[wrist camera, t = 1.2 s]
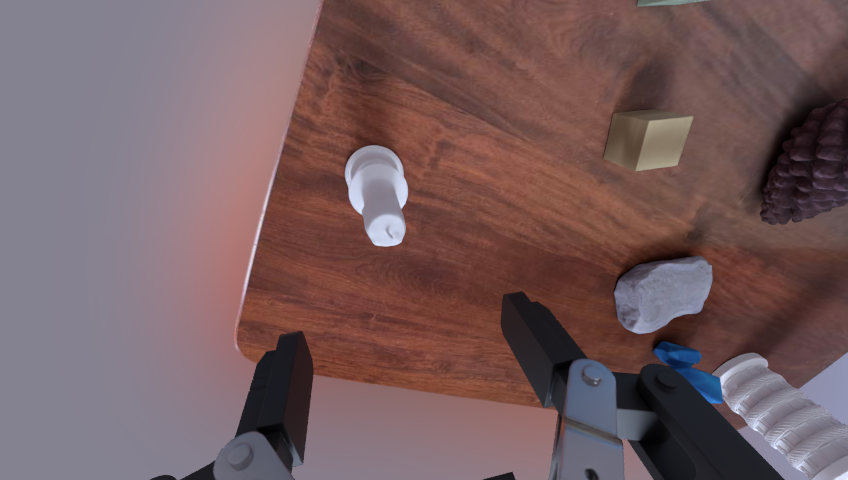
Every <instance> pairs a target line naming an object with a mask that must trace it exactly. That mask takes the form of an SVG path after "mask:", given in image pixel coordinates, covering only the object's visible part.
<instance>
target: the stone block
mask: <svg viewBox="0 0 848 480" xmlns="http://www.w3.org/2000/svg"><path fill="white" fill-rule="evenodd" d="M712 279H713V278H712V266H711V265H710V264H709V263H707V261H706V260H705V259H704V258H703V257H702V256H694V257H685V258H679V259H673V260H666V261H665V260H662V261H655V262H650V263H648V264H639V265H637V266H635V267H634V268H633V269H631V270H630V271H629V272H627V273H625V274H624V275H623V276H622V277H621V278H620V279H619V281H618V283H617V286H616V289H615V291H614V296H615V300H616V309H617V318H618V320H619V321H620V322H621V323H622V325H623V326H624V327H625V328H626V329H628V330H631V331H632V332H635V333H637V334H642V333H651V332H653V331H655V330H657V329H659V328H661V327H663V326H666V324H667V323H668V322H669V321H670V320H672V319H673V318H675V317H678V316H682V315H684V314H696V313H698V312H700V311H701V310H702V307H703V304H704V301H705V300H706V297H707V296H708V293H709V291H710V287H711V283H712Z"/></svg>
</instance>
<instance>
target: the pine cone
mask: <svg viewBox="0 0 848 480" xmlns="http://www.w3.org/2000/svg"><path fill="white" fill-rule="evenodd" d="M790 134H791V139H790V140H788V141H785V142H783V144H782V147H783V149H784V150H785V153H784V154H782V155H780V156H779V157H778V160H777V165H775V166H774V167H773V168H772V170H771V172H770V173H769V181H768V184H767V185H766V186H765V187H764V189H763V191H764V193H765V194H764V195H763V198H762V199H763V200H764V202H762V204H761V205H760V206H761V208H762V211H761V212H760V216H761V217H762V221H763V222H768V223H769V224H771V225H775V224H776V223H780V224H787V222H788V221H789V220H790V219H791V218H792V221H793V222H801V221H802V219H805V218H806V219H809V218H814V216H816V215H818V214H819V213H822V212H828V211H830V210H831V209H832V208H834V207H840V206H844V205H845V204H847V203H848V98H844V99H842V100H840V101H839V102H838V103H832V104H828V105H826V106H825V107H824V108H816V109H814V110H813V111H812V112H811V113H810V114H809V116H808V119H806V120H805V121H804V123H803V126H802V127H797V128H793V130H792V131H791V133H790Z"/></svg>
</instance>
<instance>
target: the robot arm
mask: <svg viewBox="0 0 848 480" xmlns="http://www.w3.org/2000/svg"><path fill="white" fill-rule="evenodd" d="M501 328H502V332H503V335H504V337H505V339H506V341H507V342H508V344H509V346H510V348H511V350H512V351H513V353H514V355H515V357H516V359H517V360H518V362H519V364H520V366H521V368H522V369H523V371H524V373H525V375H526V377H527V378H528V380H529V382H530V384H531V386H532V387H533V389H534V391H535V393H536V394H537V396H538V398H539V400H540V402H541V403H542V405H543V407H544V408H547V407H551V406H555V408H556V409H557V411H558V417H557V424H556V432H555V439H554V447H553V454H552V462H551V468H550V474H549V479H548V480H625V479H624V455H623V454H624V453H623V443H622V440H621V439H627V440H628V441H629V443H630V444H631V446H632V448H633V449H634V451H635V452H636V454H637V455H638V457H639V458H640V460H641V461H642V462H643V464H644V466H645V467H646V468H647V470H648V471H649V473H650V475H651V476H652V478H653V479H654V480H784V479H783V478H782V477H781V476H780V475H779V473H778V472H777V471H776V470H775V469H774V468H773V467H772V466H771V465H770V464H769V463H768V462H767V461H766V460H765V459H764V458H763V457H762V456H761V455H760V454H759V453H758V452H757V451H756V450H755V449H754V448H753V447H752V446H751V445H750V444H749V443H748V442H747V441H746V440H745V439H744V438H743V437H742V436H741V435H740V433H738V431H737V430H736V429H735V428H734V427H733V426H732V425H731V424H730V423H729V422H728V421H727V420H726V419H725V418H724V417H723V416H722V415H721V414H720V413H719V412H718V411H717V410H716V409H715V408H714V407H713V406H712V405H711V404H710V403H709V402H708V401H707V400H706V399H705V398H704V397H703V396H702V395H701V393H700V392H699V391H698V390H697V389H696V388H695V387H694V386H693V385H692V384H691V383H690V382H689V381H688V380H687V379H686V378H685V377H684V376H683V375H681V374H680V373H679V372H677V371H675V370H674V369H672V368H669V367H667V366H664V365H660V364H649V365H646V366H644V367H643V368H642V369H641V372H640V374H630V373H618V372H612V371H610V370H609V369H608V368H607V367H606V366H605V365H603V364H601V363H600V362H597V361H595V360H592V359H588V358H587V357H586V355H585V354H584V353H583V352H582V350H581V349H580V348H579V347H578V345H577V344H576V343H575V342H574V340H573V339H572V338H571V337H570V335H569V334H568V333H567V332H566V330H565V329H564V328H562V325H561V324H560V323H559V321H558V320H556V318H555V316H554V315H553V314H552V313H551V311H550V310H549V309H548V308H546V307H545V306H543V305H542V304H540V303H539V302H537V301H536V302H531V301H530V300H529V299H528V297H527V296H526V295H525V293H524V292H522V291H520V292H515V293H509V294H504V295H503V300H502V313H501ZM312 382H313V361H312V357H311V354H310V351H309V348H308V345H307V342H306V339H305V336H304V334H303V332H302V331H298V332H292V333H287V334H281V335H280V337H279V340H278V344H277V348H276V350H273V351H268V352H266V353H265V355H264V356H263V357H262V359H261V360H260V361H259V363H258V364H257V366H256V370H255V373H254V377H253V380H252V383H251V386H250V391H249V393H248V396H247V400H246V403H245V406H244V410H243V413H242V416H241V420H240V423H239V426H238V429H237V433H236V435H235V438H234V439H232V440H231V441H230V442H229V443H227V444H226V446H225V447H224V448H223V449H222V450H221V452H220V453H219V455H218V456H217V458H216V460H215V461H213V462H212V463H211V464H209V465H207V466H205V467H204V468H202V469H200V470H198V471H196V472H194V473H192V474H190V475H189V476H186V477H185V478H183V479H181V480H295V479H294V478H293V477H292V475H291V471H292V467H296V466H299V465H303V460H304V451H305V442H306V434H307V425H308V416H309V408H310V399H311V390H312ZM618 438H619V439H618ZM151 480H176V479H175V478H174V477H173V476H170V475H162V476H158V477H155V478H152V479H151ZM484 480H515V477H514V475H513V472H510V473H506V474H503V475H499V476H495V477H491V478H487V479H484Z"/></svg>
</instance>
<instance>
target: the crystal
mask: <svg viewBox="0 0 848 480" xmlns="http://www.w3.org/2000/svg"><path fill="white" fill-rule="evenodd" d="M653 353H654V354H655V355H656V356H657V357H658V358H659V359H660V360H661V361H662V362H664V363H666V364H668V365H670V366H668V367H669V368H672V369H674V370H675V371H677V372H679V373H680V374H681V375H683V376H684V377H685V378H686V379H687V380H688V381H689V382H690V383H691V384H692V385H693V386H694V387H695V388H696V389H697V390H698V391H699V392H700V393H701V395H702V396H703V397H704V398H705V399H706V400H707V401H708V402H709V403H719V404H722V403H723V396H722V388H721V381H720V378H719V377H717V376H714V375H712V374H709V373H706V372H703V371H700V370H698V369H695V368H692V367H691V366H692V365H693V364H694V363H696V364H697V363H699V361H700V359H701V357H702V356H701V354H700V353H699V351H698V350H695V349H692V348H689V347H683V346H679V345H676V344H672V343H668V342H664V341H661V342H660V343H659V344H658V345H657V346H656V347H655V348H654V349H653Z"/></svg>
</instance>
